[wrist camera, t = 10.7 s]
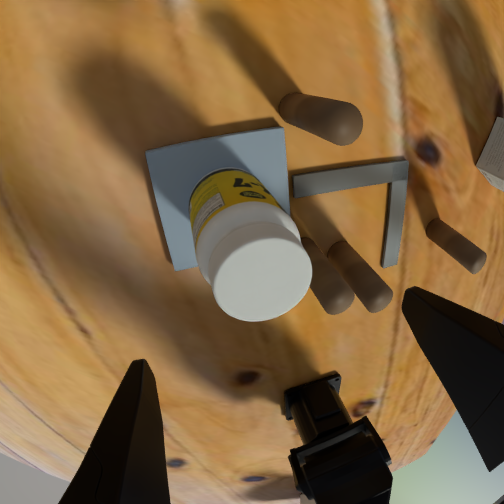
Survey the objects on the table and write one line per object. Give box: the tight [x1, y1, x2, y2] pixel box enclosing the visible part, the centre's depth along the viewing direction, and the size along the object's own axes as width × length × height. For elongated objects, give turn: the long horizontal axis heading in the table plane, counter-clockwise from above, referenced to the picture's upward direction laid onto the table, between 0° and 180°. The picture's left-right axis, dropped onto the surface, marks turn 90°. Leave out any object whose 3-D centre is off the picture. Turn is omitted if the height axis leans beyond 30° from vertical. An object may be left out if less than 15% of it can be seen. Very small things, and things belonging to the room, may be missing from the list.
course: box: [279, 93, 487, 315], centre depth 20 cm, size 14×15×6 cm
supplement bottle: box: [188, 167, 312, 322], centre depth 16 cm, size 5×5×8 cm
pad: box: [145, 126, 290, 271], centre depth 20 cm, size 8×8×1 cm
